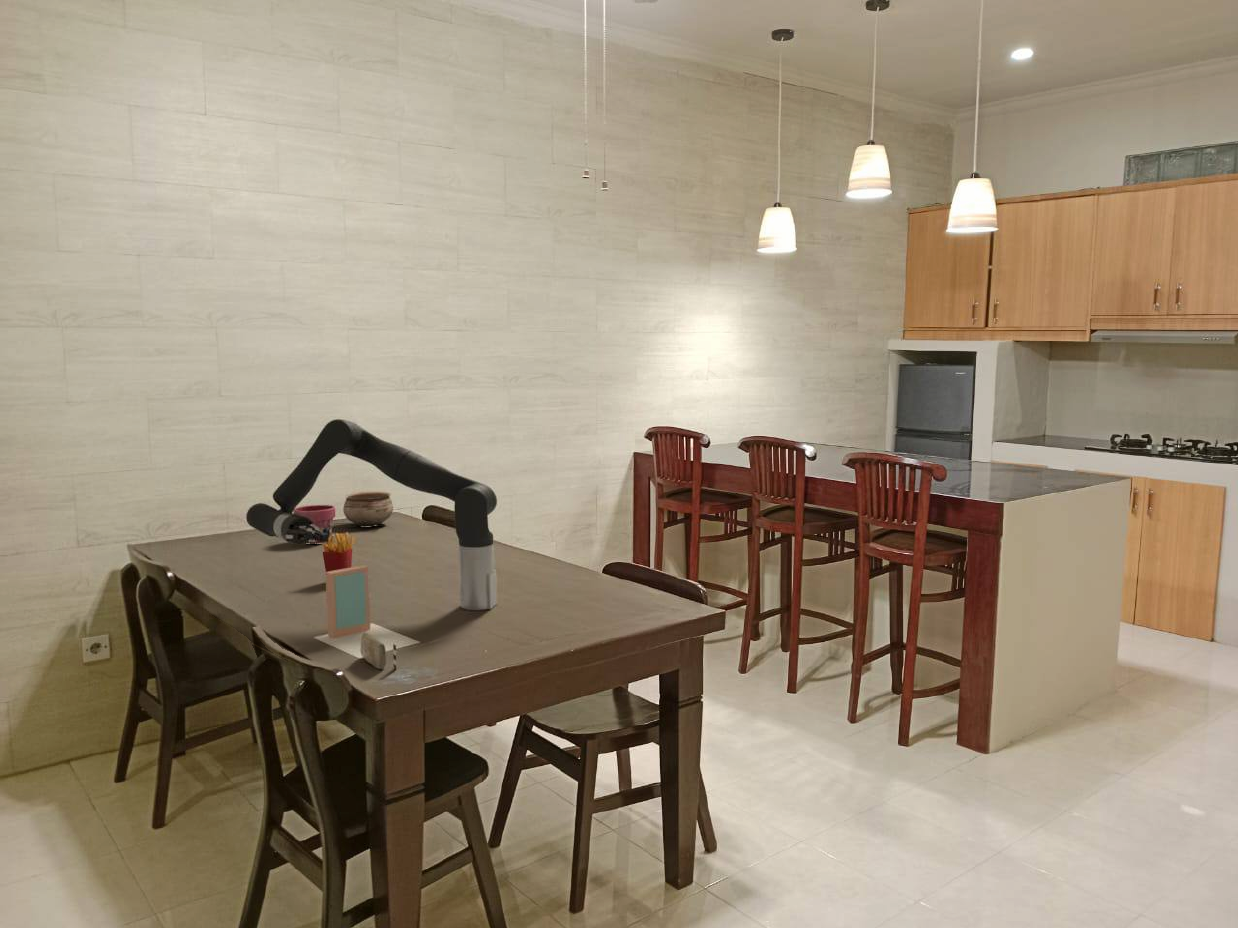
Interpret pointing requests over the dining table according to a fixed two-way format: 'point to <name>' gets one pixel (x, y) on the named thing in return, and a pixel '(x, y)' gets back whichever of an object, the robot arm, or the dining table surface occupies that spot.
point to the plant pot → (317, 515)
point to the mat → (383, 635)
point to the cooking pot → (368, 508)
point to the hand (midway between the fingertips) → (325, 538)
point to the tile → (347, 601)
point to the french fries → (338, 553)
